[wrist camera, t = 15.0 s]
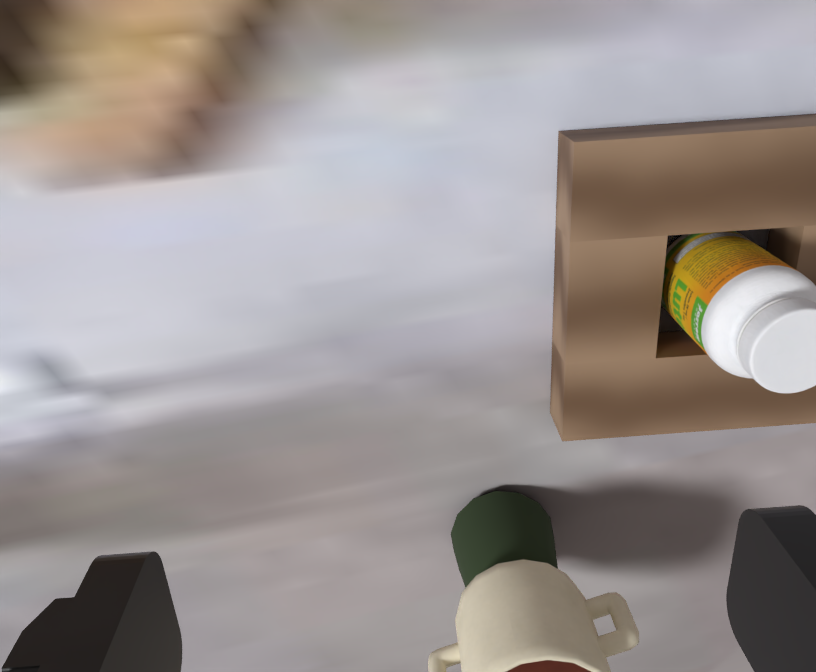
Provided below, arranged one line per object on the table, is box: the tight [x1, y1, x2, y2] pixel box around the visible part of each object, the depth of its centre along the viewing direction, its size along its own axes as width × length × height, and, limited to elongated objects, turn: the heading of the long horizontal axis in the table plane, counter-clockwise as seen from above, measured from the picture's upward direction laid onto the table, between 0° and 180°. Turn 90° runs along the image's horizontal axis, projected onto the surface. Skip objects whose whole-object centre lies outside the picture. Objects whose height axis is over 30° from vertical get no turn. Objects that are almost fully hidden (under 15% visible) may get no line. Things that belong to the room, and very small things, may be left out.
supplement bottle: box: [661, 231, 816, 393], centre depth 34 cm, size 5×5×10 cm
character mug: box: [428, 491, 639, 672], centre depth 39 cm, size 11×7×13 cm, turn 112°
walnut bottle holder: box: [550, 114, 816, 441], centre depth 37 cm, size 16×16×3 cm
